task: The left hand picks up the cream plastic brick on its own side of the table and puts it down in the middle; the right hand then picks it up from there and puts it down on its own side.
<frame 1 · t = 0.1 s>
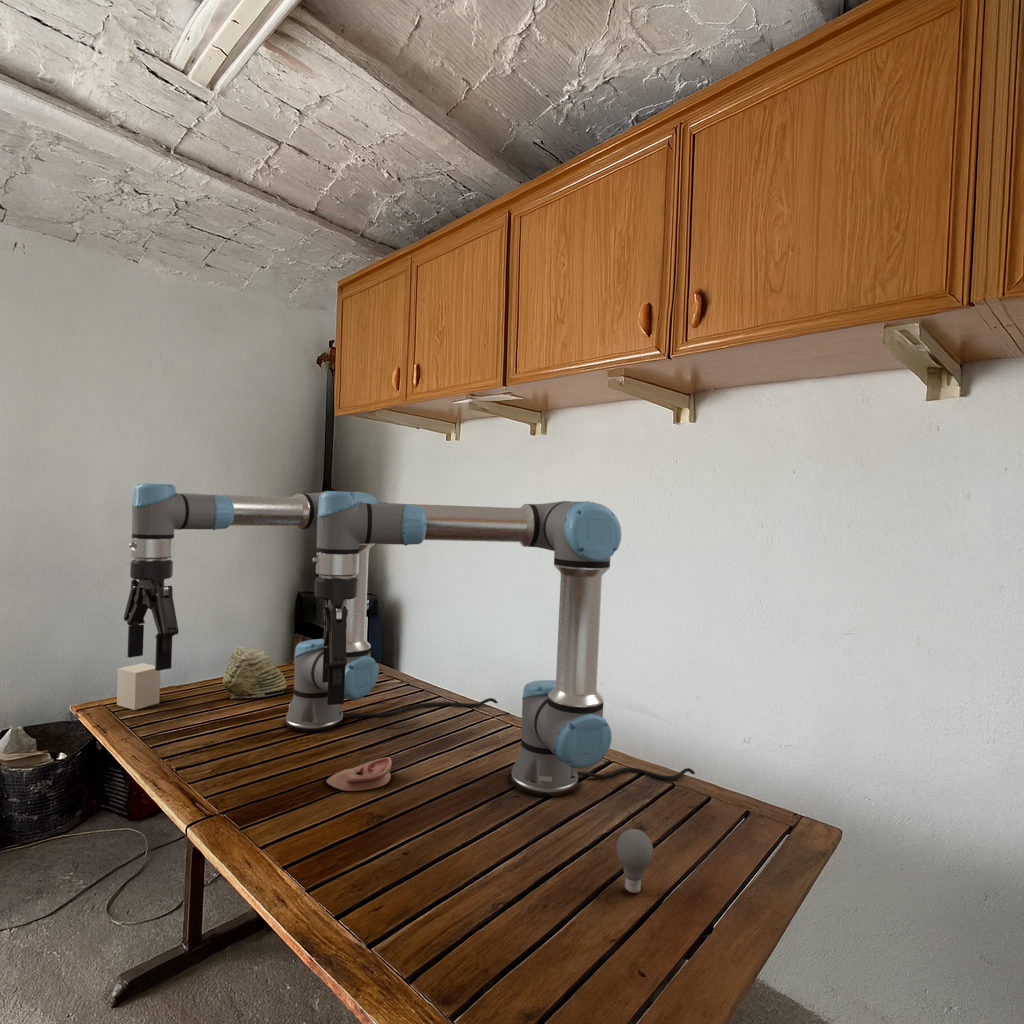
left hand: (148, 662, 129), 28 cm above the table, tool pointing down, fingers open, 13 cm apart
right hand: (332, 692, 115), 28 cm above the table, tool pointing down, fingers open, 13 cm apart
fossil: (254, 694, 198), on the table
light bulb: (632, 891, 106), on the table
brick: (138, 704, 185), on the table
anatomical model: (359, 781, 142), on the table
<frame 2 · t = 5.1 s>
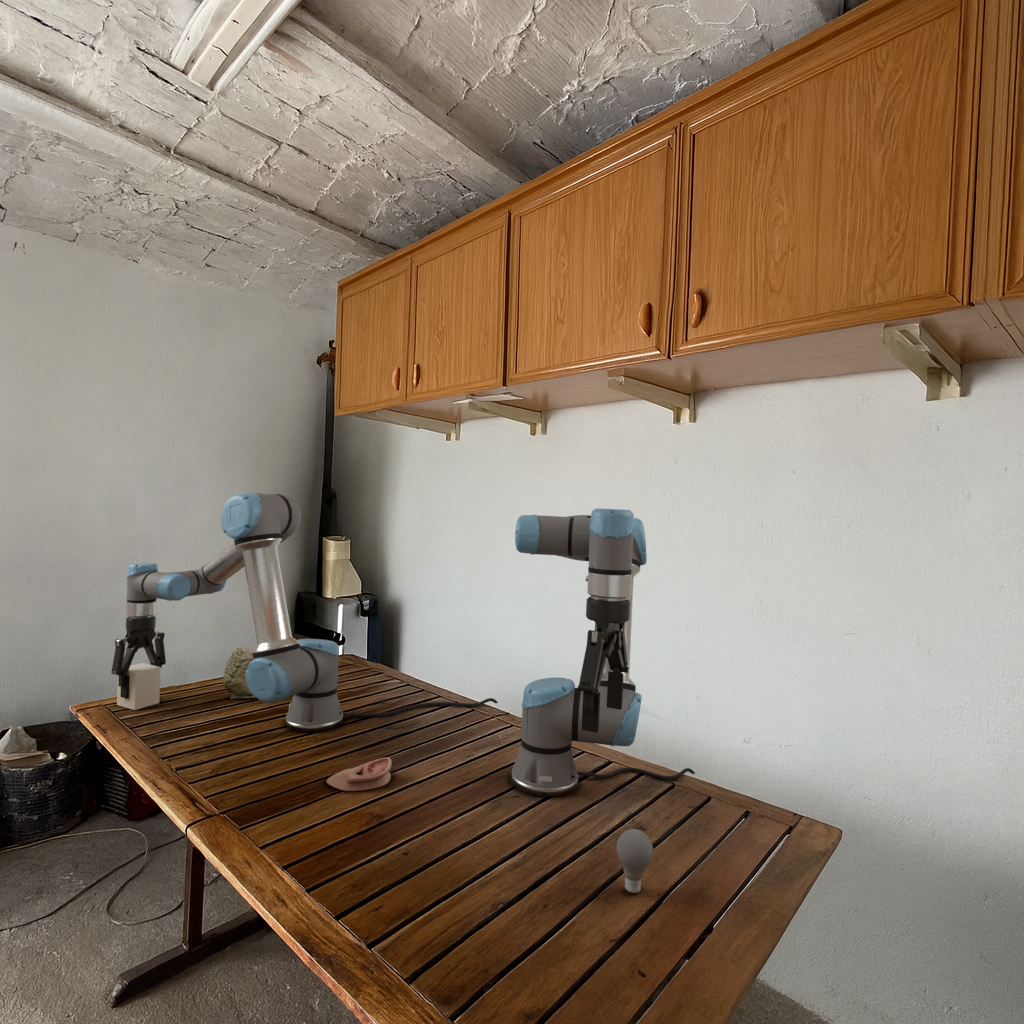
left hand: (138, 693, 185), 3 cm above the table, tool pointing down, fingers closed on brick, 8 cm apart
right hand: (602, 719, 110), 27 cm above the table, tool pointing down, fingers open, 13 cm apart
brick: (138, 704, 185), on the table, touching left hand
everything else where it was.
when the left hand's fingers open (4 cm above the table, at t = 14.7 s): brick drops 1 cm, on the table.
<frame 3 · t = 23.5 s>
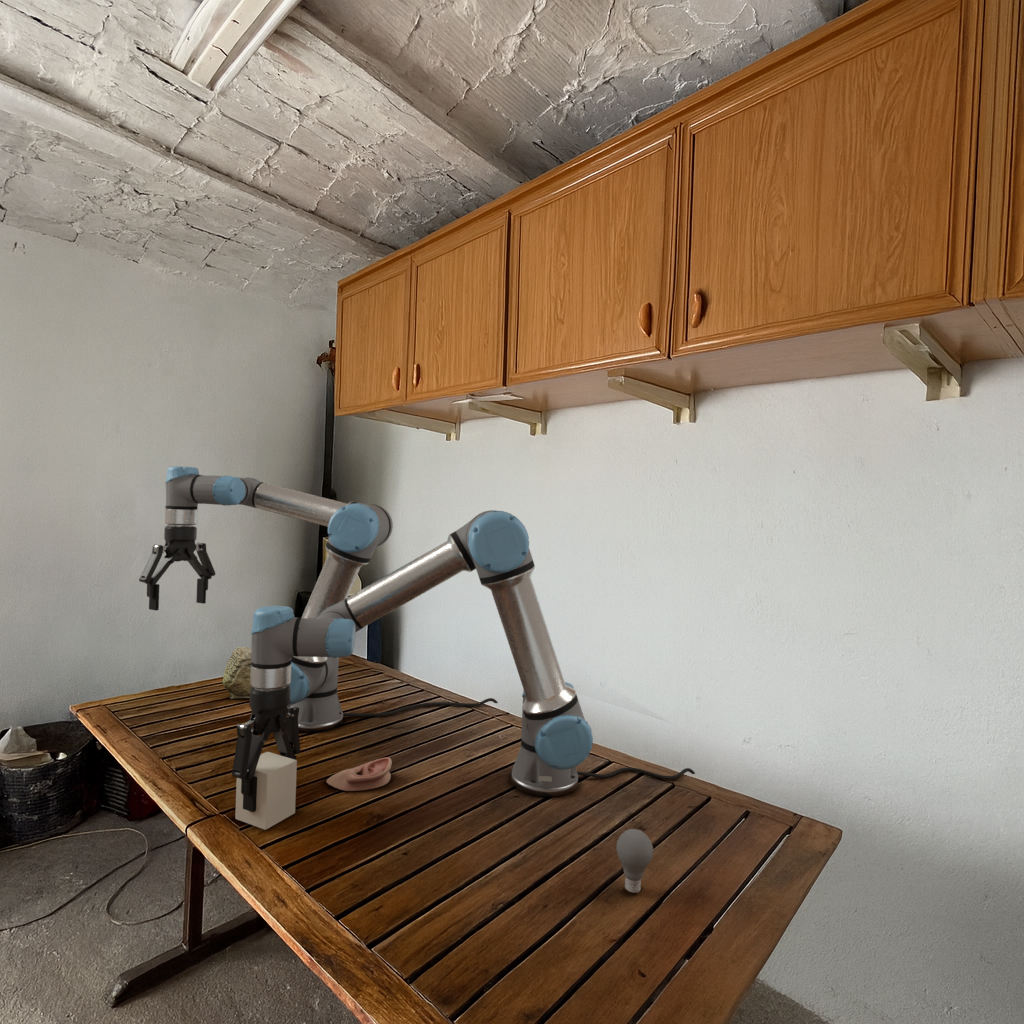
left hand: (178, 606, 166), 33 cm above the table, tool pointing down, fingers open, 13 cm apart
right hand: (266, 800, 125), 3 cm above the table, tool pointing down, fingers closed on brick, 8 cm apart
brick: (265, 815, 125), on the table, touching right hand
everything else where it was.
when the right hand's fingers open (4 cm above the table, at t = 29.1 s): brick drops 1 cm, on the table.
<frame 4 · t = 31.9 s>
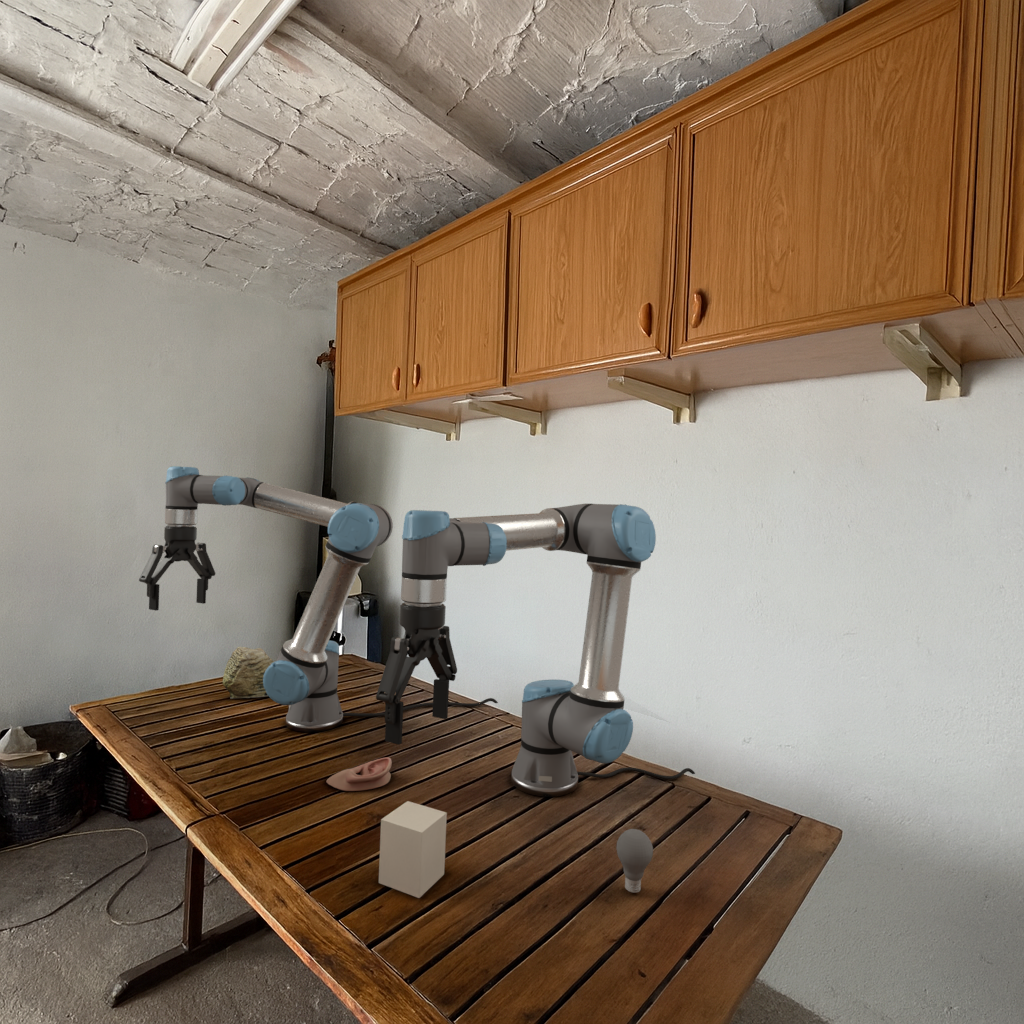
left hand: (178, 606, 166), 33 cm above the table, tool pointing down, fingers open, 13 cm apart
right hand: (417, 729, 106), 25 cm above the table, tool pointing down, fingers open, 13 cm apart
brick: (411, 878, 107), on the table
everything else where it was.
at the end: brick inside the target area (0.1 cm from its centre), on the table; brick tilted 0°; the two hands never held the brick at the same time; the left hand is holding nothing; the right hand is holding nothing; brick at rest at the end (0.0 cm/s) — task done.
